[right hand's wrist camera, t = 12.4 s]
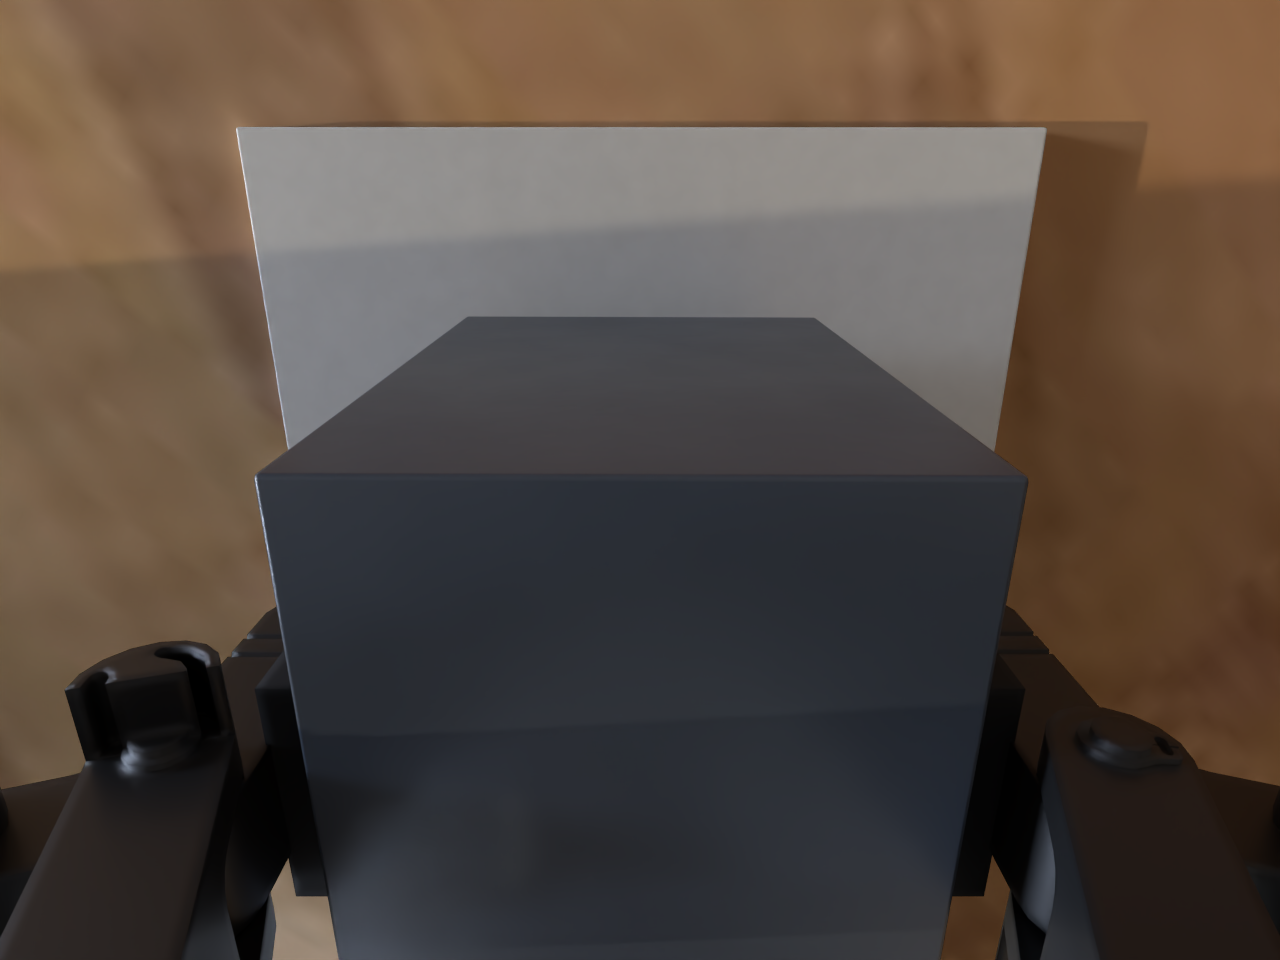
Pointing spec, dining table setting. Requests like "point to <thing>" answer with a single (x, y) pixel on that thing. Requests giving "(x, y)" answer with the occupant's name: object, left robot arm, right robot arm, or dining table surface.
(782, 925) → the beam
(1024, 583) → the dining table surface
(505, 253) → the mat
